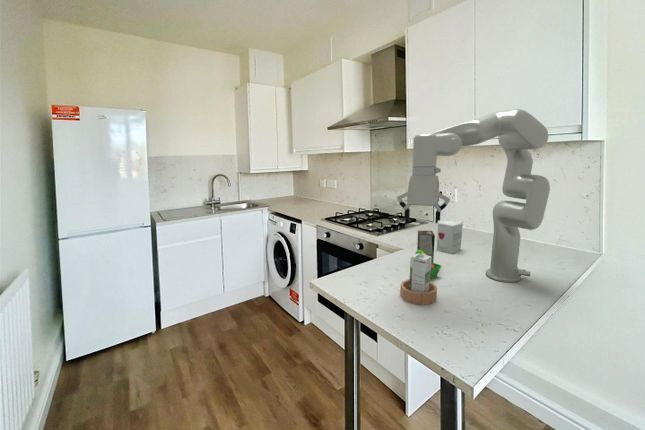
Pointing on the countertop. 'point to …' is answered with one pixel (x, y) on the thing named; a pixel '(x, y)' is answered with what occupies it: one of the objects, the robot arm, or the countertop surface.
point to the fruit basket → (434, 266)
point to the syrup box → (420, 273)
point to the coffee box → (426, 243)
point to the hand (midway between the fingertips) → (421, 221)
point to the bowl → (418, 294)
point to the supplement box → (449, 236)
